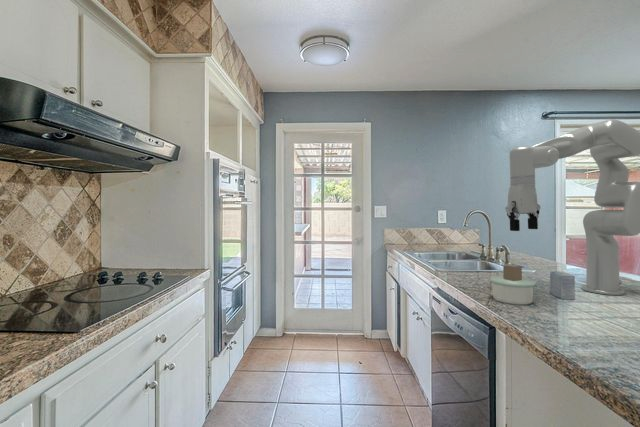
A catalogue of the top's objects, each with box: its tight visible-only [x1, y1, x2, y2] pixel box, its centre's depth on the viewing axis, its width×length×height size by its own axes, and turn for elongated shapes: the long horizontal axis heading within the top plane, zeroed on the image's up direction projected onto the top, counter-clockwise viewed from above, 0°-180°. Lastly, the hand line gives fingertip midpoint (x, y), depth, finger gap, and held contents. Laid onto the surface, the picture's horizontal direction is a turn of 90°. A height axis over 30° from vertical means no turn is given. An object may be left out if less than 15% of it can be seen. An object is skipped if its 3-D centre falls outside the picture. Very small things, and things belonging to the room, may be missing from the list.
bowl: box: [492, 283, 534, 306], centre depth 113 cm, size 12×12×6 cm
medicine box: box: [549, 271, 576, 301], centre depth 116 cm, size 8×4×9 cm, turn 168°
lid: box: [489, 264, 537, 288], centre depth 112 cm, size 14×14×6 cm
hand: (523, 229), depth 113 cm, fingers open, 9 cm apart
